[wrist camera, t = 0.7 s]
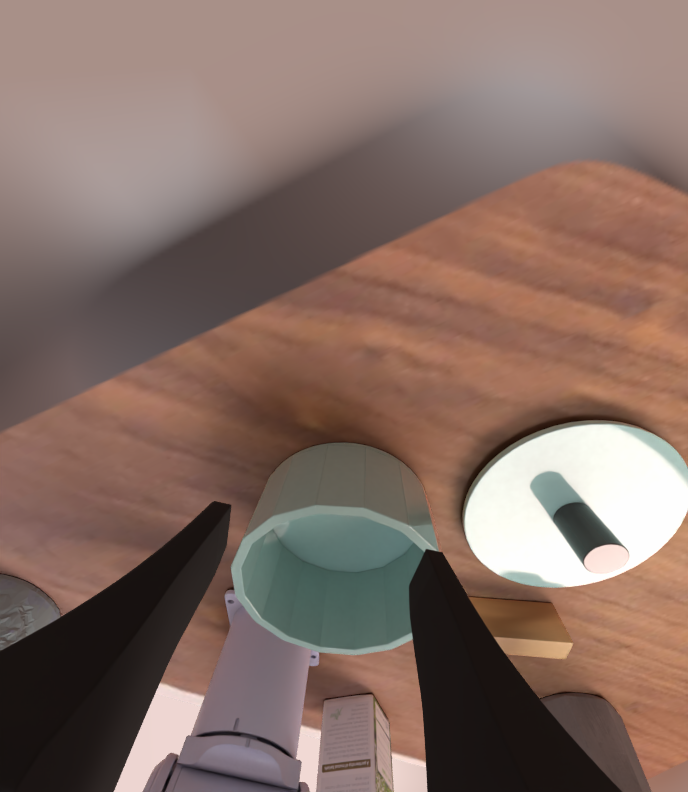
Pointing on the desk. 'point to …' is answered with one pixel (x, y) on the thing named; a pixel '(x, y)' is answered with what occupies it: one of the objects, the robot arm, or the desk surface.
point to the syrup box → (354, 747)
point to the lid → (576, 503)
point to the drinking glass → (22, 610)
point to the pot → (336, 550)
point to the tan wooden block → (525, 627)
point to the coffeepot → (600, 737)
